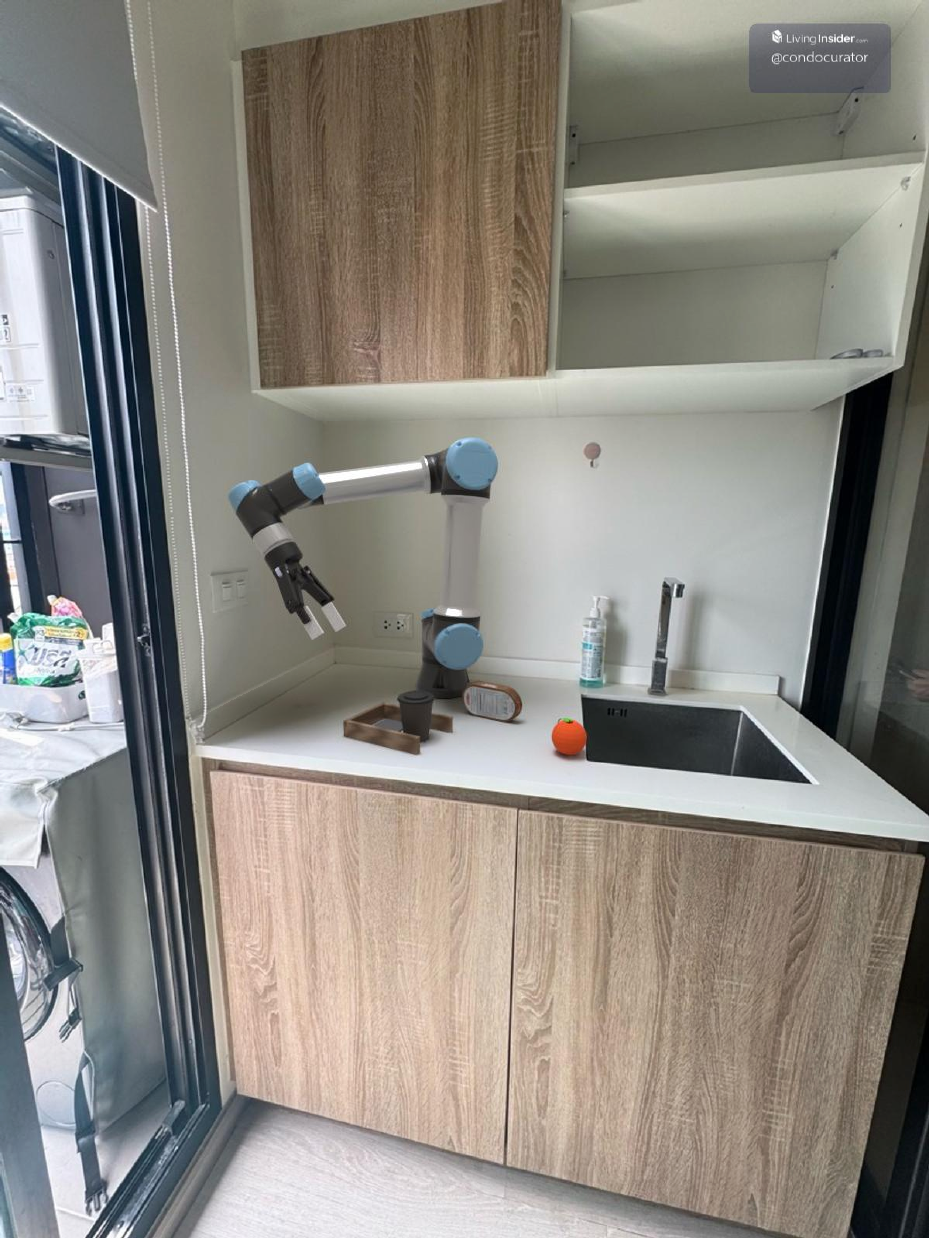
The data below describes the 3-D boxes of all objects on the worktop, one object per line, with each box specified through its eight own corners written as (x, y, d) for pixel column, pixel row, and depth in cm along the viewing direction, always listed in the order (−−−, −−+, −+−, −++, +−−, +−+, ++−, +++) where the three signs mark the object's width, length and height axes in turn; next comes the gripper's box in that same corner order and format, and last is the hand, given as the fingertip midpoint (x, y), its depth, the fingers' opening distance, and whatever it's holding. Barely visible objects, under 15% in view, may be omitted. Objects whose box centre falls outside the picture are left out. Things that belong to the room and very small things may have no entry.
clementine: (541, 747, 108) (542, 714, 107) (570, 742, 111) (571, 710, 110) (562, 763, 101) (564, 728, 100) (593, 757, 103) (594, 723, 102)
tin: (522, 722, 122) (523, 687, 121) (516, 726, 120) (517, 690, 118) (466, 710, 130) (466, 677, 128) (460, 714, 127) (460, 680, 126)
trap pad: (355, 735, 113) (355, 734, 113) (386, 719, 123) (386, 718, 123) (381, 742, 110) (381, 740, 110) (411, 725, 119) (411, 724, 119)
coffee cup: (439, 732, 116) (438, 688, 114) (430, 747, 108) (430, 700, 106) (403, 729, 117) (402, 686, 115) (392, 744, 109) (391, 698, 107)
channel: (343, 736, 113) (343, 720, 112) (383, 716, 125) (383, 702, 124) (417, 754, 104) (417, 738, 103) (452, 731, 116) (452, 716, 115)
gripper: (290, 559, 127) (336, 634, 127) (233, 556, 102) (291, 649, 103) (315, 542, 126) (361, 618, 126) (264, 536, 101) (322, 630, 102)
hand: (330, 632), depth 114 cm, fingers open, 13 cm apart
